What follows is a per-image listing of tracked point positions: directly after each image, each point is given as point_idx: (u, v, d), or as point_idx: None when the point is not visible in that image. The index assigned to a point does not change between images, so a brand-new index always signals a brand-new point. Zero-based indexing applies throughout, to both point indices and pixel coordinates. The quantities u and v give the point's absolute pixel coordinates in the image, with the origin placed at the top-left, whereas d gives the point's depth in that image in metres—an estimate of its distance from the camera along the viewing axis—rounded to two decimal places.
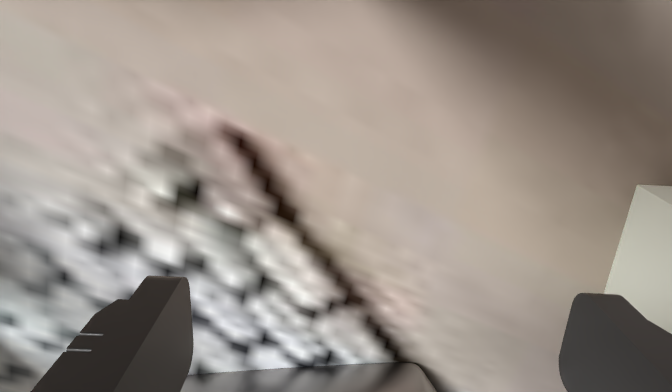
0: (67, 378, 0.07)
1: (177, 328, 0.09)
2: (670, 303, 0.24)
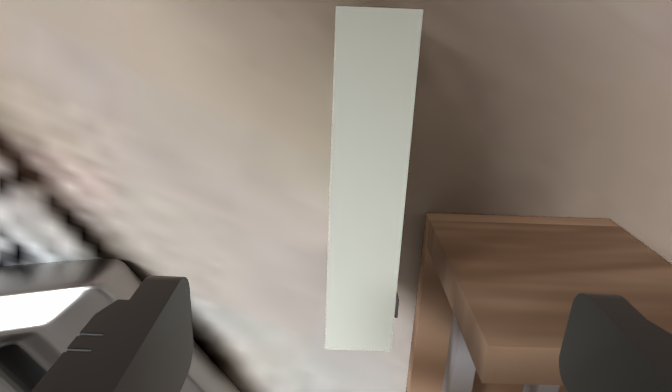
0: (67, 378, 0.07)
1: (178, 327, 0.09)
2: None
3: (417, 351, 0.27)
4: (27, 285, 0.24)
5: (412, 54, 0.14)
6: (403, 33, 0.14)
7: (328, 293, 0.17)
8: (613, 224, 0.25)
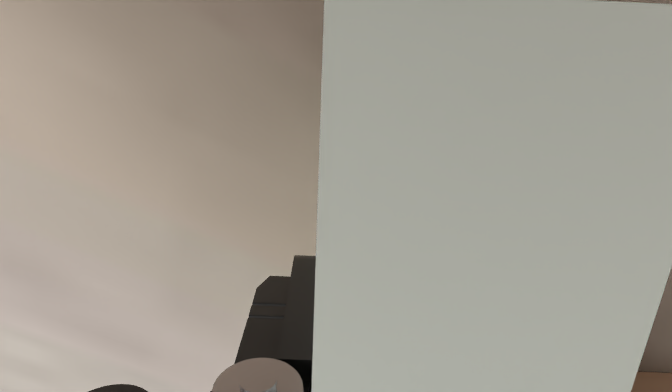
0: (263, 339, 0.08)
1: None
2: None
3: None
4: None
5: (660, 207, 0.03)
6: (638, 120, 0.03)
7: None
8: None
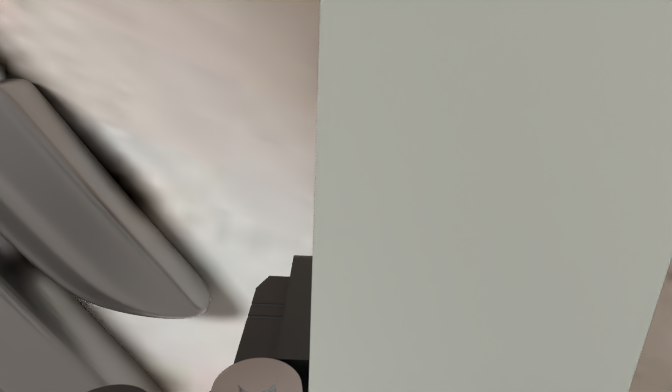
0: (262, 338, 0.08)
1: None
2: None
3: None
4: None
5: (659, 199, 0.03)
6: (638, 112, 0.03)
7: None
8: None
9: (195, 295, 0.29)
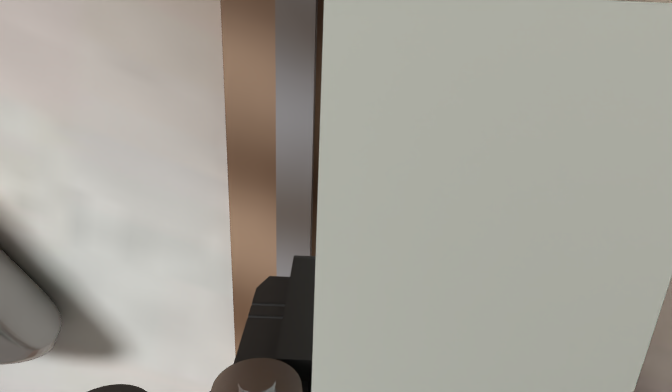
0: (262, 338, 0.08)
1: None
2: None
3: (230, 136, 0.17)
4: None
5: (663, 208, 0.03)
6: (641, 121, 0.03)
7: None
8: None
9: (24, 327, 0.18)
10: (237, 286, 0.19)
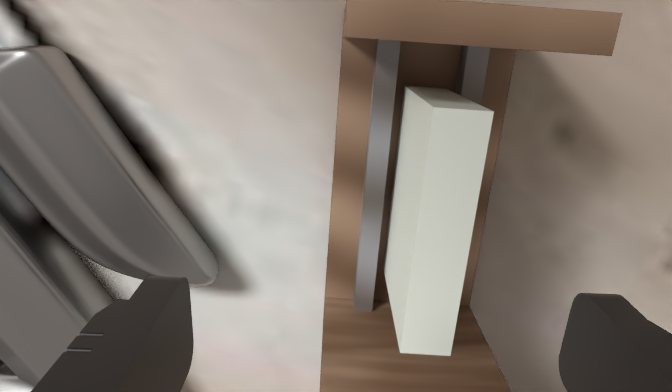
0: (67, 378, 0.07)
1: (177, 328, 0.09)
2: (407, 185, 0.24)
3: (337, 153, 0.29)
4: None
5: (483, 141, 0.20)
6: (479, 127, 0.19)
7: (407, 309, 0.22)
8: None
9: (205, 264, 0.30)
10: (331, 244, 0.31)
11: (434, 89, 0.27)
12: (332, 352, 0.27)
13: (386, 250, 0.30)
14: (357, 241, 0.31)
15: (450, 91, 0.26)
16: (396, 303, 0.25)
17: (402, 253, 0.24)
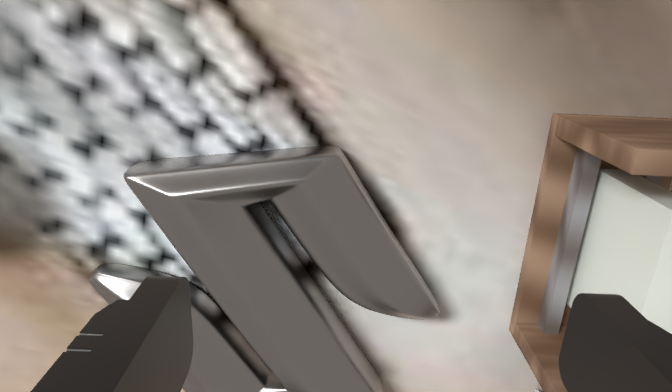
0: (67, 378, 0.07)
1: (177, 328, 0.09)
2: (618, 250, 0.34)
3: (539, 217, 0.38)
4: (287, 156, 0.35)
5: None
6: None
7: None
8: None
9: (434, 302, 0.40)
10: (526, 283, 0.41)
11: (624, 173, 0.36)
12: (550, 368, 0.36)
13: (570, 287, 0.40)
14: (546, 281, 0.40)
15: (639, 176, 0.35)
16: None
17: None
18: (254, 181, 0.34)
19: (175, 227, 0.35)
